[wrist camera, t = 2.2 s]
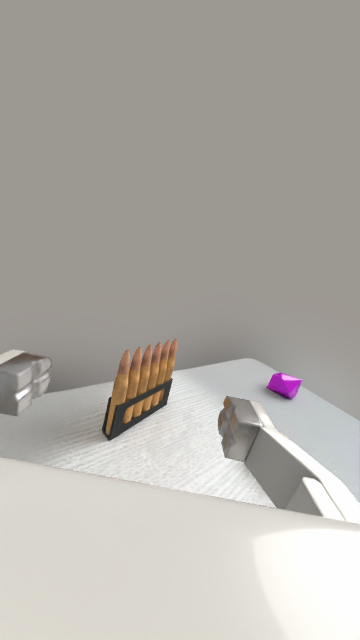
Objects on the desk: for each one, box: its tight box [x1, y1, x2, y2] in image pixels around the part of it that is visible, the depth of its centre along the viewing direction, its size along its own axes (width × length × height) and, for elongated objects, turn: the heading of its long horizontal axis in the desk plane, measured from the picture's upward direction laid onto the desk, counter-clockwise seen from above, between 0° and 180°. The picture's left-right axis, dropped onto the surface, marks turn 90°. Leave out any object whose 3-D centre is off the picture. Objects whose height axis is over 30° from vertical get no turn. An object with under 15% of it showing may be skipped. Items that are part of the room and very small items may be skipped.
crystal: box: [267, 373, 302, 398], centre depth 44 cm, size 5×5×5 cm
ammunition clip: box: [102, 339, 177, 440], centre depth 26 cm, size 11×2×12 cm, turn 142°
